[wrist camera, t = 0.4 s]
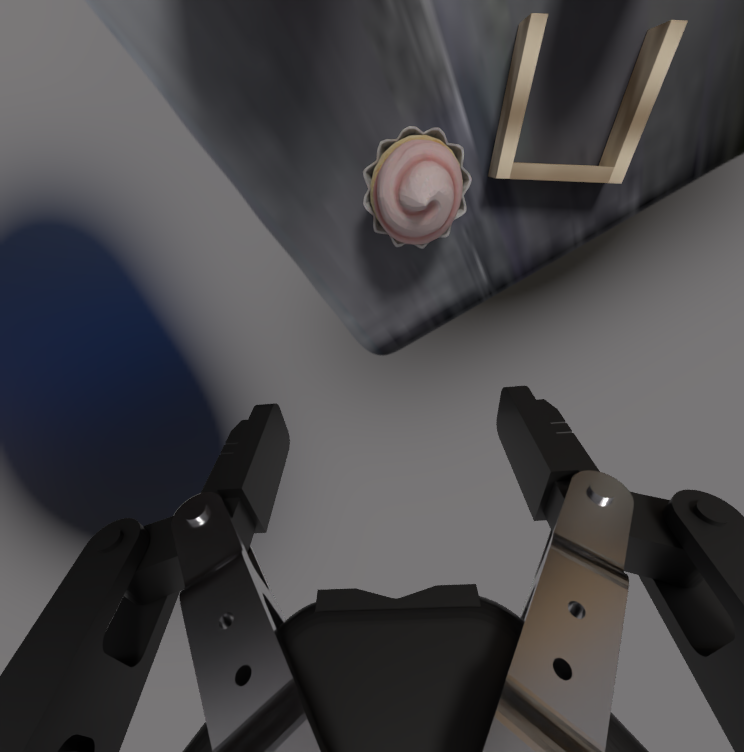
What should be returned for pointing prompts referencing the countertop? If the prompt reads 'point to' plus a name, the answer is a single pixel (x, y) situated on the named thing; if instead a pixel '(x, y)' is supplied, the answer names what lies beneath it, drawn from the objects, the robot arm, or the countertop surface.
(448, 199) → the cupcake
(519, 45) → the keeper
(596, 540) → the robot arm
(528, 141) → the countertop surface
